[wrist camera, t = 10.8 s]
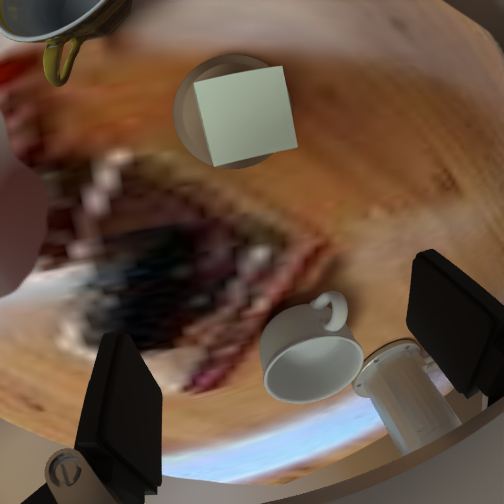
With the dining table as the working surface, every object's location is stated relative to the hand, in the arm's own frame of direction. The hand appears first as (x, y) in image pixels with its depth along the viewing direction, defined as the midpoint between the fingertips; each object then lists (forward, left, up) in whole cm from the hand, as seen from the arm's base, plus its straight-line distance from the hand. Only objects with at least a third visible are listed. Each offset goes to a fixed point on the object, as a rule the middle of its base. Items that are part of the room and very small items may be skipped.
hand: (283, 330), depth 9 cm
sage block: (-2, -5, -17) cm, 18 cm away
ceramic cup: (+7, -17, -21) cm, 28 cm away
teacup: (-5, +19, -21) cm, 28 cm away
